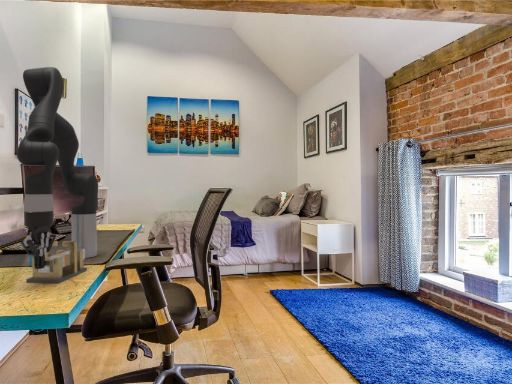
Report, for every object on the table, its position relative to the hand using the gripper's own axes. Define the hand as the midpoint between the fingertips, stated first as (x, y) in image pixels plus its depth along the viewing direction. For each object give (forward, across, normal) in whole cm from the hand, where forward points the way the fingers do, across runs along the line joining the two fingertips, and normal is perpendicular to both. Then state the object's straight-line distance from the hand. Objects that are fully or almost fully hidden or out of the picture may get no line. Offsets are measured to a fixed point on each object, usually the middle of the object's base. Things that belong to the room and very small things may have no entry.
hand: (39, 268), depth 111 cm
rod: (+2, -12, 0) cm, 12 cm away
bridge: (+4, -10, 0) cm, 11 cm away
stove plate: (+4, -9, 0) cm, 10 cm away
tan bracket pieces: (+3, -10, 0) cm, 10 cm away
